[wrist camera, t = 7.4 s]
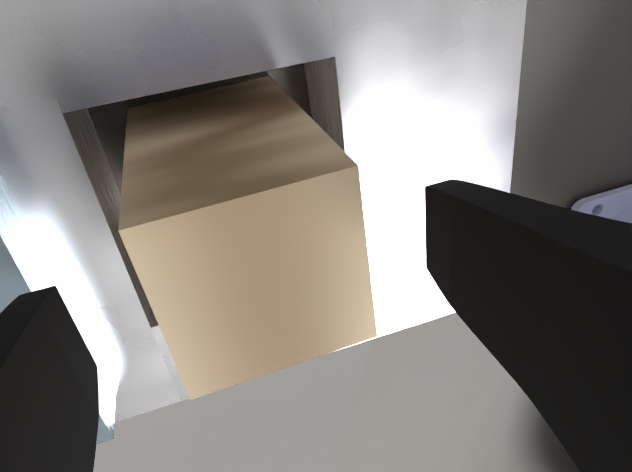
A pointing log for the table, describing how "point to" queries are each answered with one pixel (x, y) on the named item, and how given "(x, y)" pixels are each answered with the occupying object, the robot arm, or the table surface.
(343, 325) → the tan tall block
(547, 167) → the table surface
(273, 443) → the table surface
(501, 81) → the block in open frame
